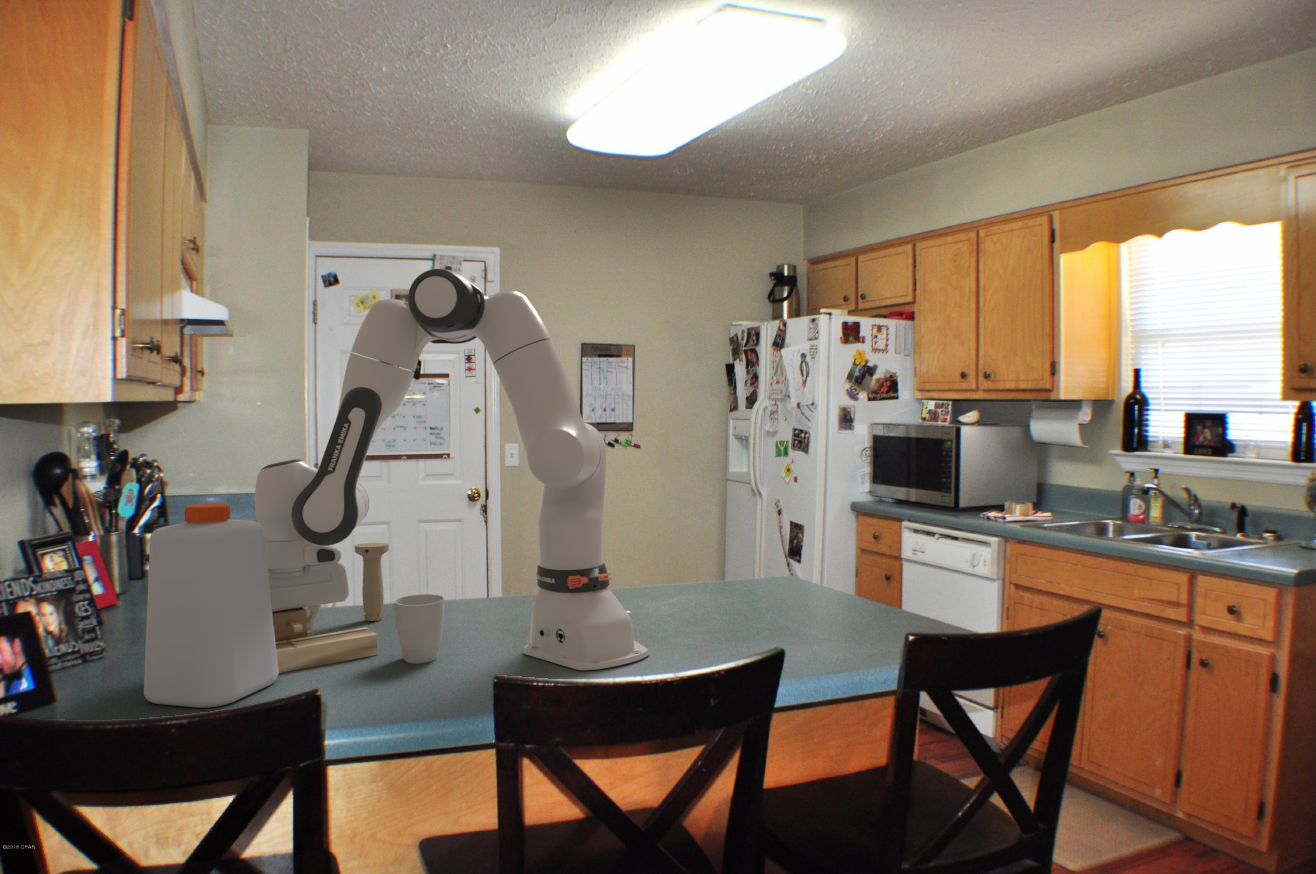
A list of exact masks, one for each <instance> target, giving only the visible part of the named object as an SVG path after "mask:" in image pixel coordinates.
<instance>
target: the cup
mask: <svg viewBox="0 0 1316 874" xmlns="http://www.w3.org/2000/svg"><path fill="white" fill-rule="evenodd" d="M393 603H394V616H395V627H396V633H397V637H398V642H399V646H400V649H401V652H402V655H403V658H404V661H405V662H406V663H409V664H425V663H426V664H427V663H429V662H433V661H435V660H437V657H438V653H439V650H440V647H441V644H442V639H443V638H442V637H443V630H444V624H445V623H444V622H445V603H446V601H445V596H443V595H442V594H441V595H439V594H434V593H428V594H427V593H421V594H410V595H406V596H405V595H404V596H401V597H398V598H396V599H395V600H394V602H393Z"/></svg>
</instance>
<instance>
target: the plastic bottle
mask: <svg viewBox="0 0 1316 874" xmlns="http://www.w3.org/2000/svg"><path fill="white" fill-rule="evenodd" d="M183 510H184V511H183V512H184V513H183V514H184V516H183V517H184V522H181V523H175V524H171V525H168V526H167V525H166V526H163V527H159V528H157V529H155V530H153V532H152V533H151V534H150V536H149V553H148V554H149V558H148V577H147V580H148V581H147V605H146V608H147V609H146V629H145V654H144V679H143V680H144V681H143V695H144V697H145V700H147V701H148V702H150V703H152V704H157V705H165V706H175V707H177V706H178V707H185V708H186V707H188V708H197V709H198V708H200V709H209V708H215V707H216V708H217V707H222V706H225V705H229V704H231V703H235V702H236V701H239V700H241V699H243V698H245V697H247V696H249V695H251V694H253V693H256V692H258V691H260V690H262V689H265V688H267V687H269V686H270V685H272V684H273V683H274V682H275V681H276V680H277V679H278V677H279V674H280V673H279V670H278V661H277V652H276V643H275V634H274V625H273V616H272V606H271V597H270V588H269V579H268V570H267V561H266V551H265V542H264V533H263V528H262V526H261V524H259V523H258V521H254V520H245V519H244V520H243V519H231V506H230V505H229V504H228V503H224V502H222V503H221V502H212V503H211V502H210V503H208V502H207V503H196V504H191V505H187V506H185V508H184V509H183Z"/></svg>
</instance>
